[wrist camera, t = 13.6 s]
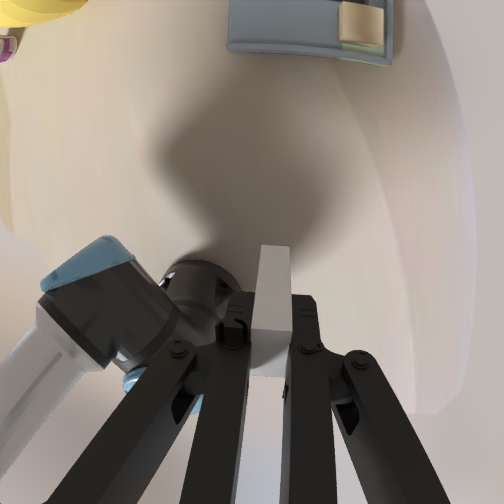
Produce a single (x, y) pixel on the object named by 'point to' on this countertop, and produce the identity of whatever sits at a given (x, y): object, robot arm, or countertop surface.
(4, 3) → the vase
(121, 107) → the countertop surface
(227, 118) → the countertop surface
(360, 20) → the block
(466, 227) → the countertop surface
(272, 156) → the countertop surface
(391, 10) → the blue gray tray
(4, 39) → the pill bottle
